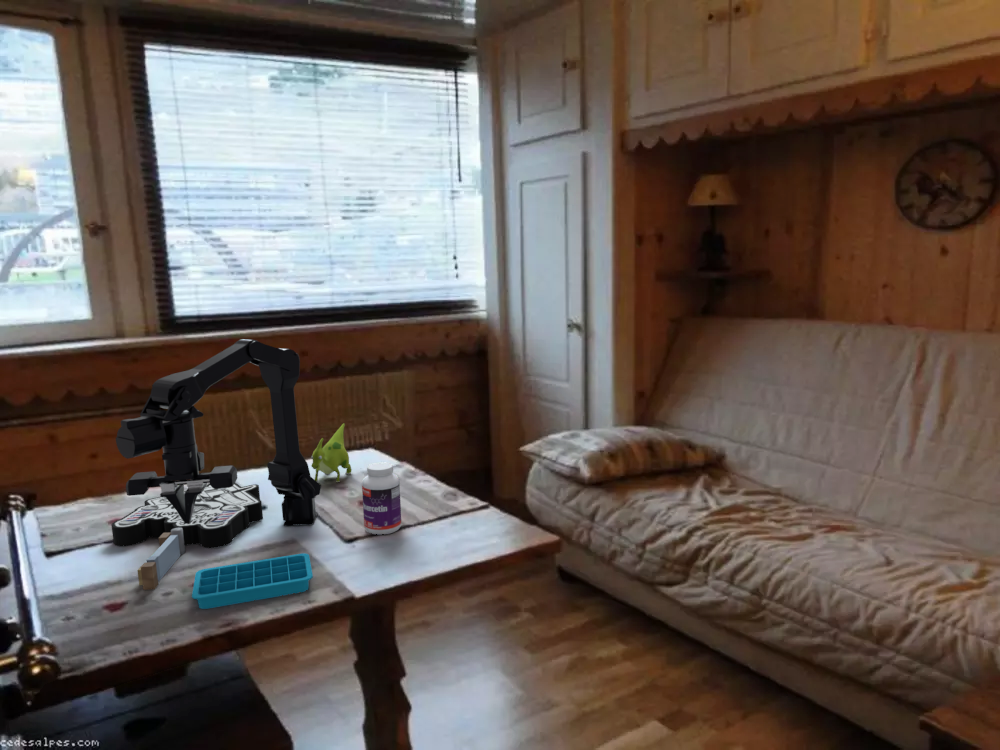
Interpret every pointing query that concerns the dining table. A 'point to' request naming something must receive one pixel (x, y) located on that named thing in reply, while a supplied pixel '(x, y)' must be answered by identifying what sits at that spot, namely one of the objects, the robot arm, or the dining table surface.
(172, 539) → the pale blue flat bar
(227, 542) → the decorative sign
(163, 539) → the brown angular block
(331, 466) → the toy
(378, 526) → the pill bottle
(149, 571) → the wooden block
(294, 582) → the ice cube tray
